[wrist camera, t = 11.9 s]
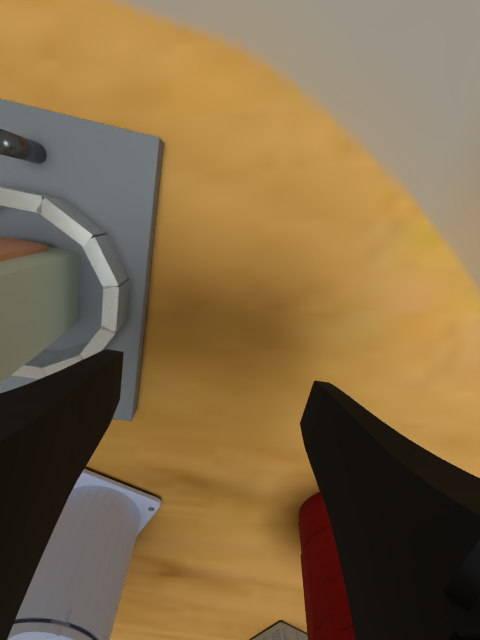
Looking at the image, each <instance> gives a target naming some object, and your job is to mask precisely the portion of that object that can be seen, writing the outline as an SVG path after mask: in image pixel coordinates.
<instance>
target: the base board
mask: <svg viewBox="0 0 480 640" xmlns="http://www.w3.org/2000/svg"><path fill="white" fill-rule="evenodd" d="M0 129H3V130H6V131H8V132H11V133H14V134H16V135H19V136H22V137H24V138H27V139H30V140H32V141H35V142H38V143H40V144H41V145H42V146H43V147H44V148H45V150H46V153H47V157H46V160H45V161H44V162H43V163H41V164H36V163H32V162H28V161H24V160H20V159H16V158H13V157H9V156H5V155H1V154H0V186H7V187H13V188H18V189H23V190H28V191H33V192H37V193H42V194H47V195H52V196H56V197H61V198H63V199H66V200H67V201H69V202H70V203H71V204H72V205H74V206H75V207H76V208H77V209H79V210H80V211H81V212H82V213H84V214H85V215H86V216H87V217H89V218H90V219H91V220H93V221H94V222H95V223H96V224H98V225H99V226H100V227H101V228H103V229H104V230H105V231H106V232H107V233H106V235H108V234H109V235H110V238H111V240H112V242H113V244H114V246H115V248H116V250H117V252H118V254H119V256H120V258H121V261H122V263H123V265H124V267H125V269H126V271H127V273H128V275H129V278H128V279H130V284H129V296H128V309H127V320H126V322H125V323H124V324H123V326H122V327H121V328H120V329H119V331H118V332H117V333H116V334H115V336H114V337H113V338H112V339H111V340H110V342H109V343H108V344H107V345H106V347H105V348H104V349H103V350H105V349H109V350H116V351H122V352H124V355H123V368H122V381H121V393H120V401H119V403H118V406H117V408H116V411H115V413H114V416H113V418H112V419H119V420H127V421H132V419H133V417H134V414H135V412H136V407H137V397H138V387H139V378H140V368H141V358H142V349H143V339H144V329H145V319H146V310H147V300H148V290H149V281H150V271H151V261H152V251H153V242H154V232H155V222H156V213H157V203H158V193H159V183H160V174H161V164H162V154H163V145H164V142H163V141H162V140H161V139H160V138H159V137H155V136H151V135H146V134H142V133H138V132H134V131H130V130H126V129H122V128H118V127H113V126H109V125H105V124H101V123H97V122H93V121H89V120H85V119H81V118H76V117H72V116H68V115H64V114H60V113H56V112H52V111H48V110H43V109H39V108H35V107H31V106H27V105H23V104H19V103H15V102H10V101H6V100H2V99H0ZM0 237H10V238H15V239H21V240H26V241H31V242H36V243H41V244H46V245H48V247H53V248H58V249H64V250H69V251H74V252H79V253H80V263H79V295H78V323H77V324H76V325H75V326H73V327H72V328H71V329H69V330H68V331H67V332H66V333H64V334H63V335H62V336H60V337H59V338H58V339H57V340H55V341H54V342H53V343H52V344H50V345H49V346H48V347H46V348H45V349H44V350H48V351H55V352H63V351H66V350H68V349H71V348H74V347H77V346H80V345H83V344H86V343H89V342H90V341H91V340H92V338H93V337H94V336H95V334H96V333H97V332H98V331H99V329H100V328H101V323H102V302H103V286H102V284H101V282H100V280H99V278H98V276H97V274H96V272H95V271H94V269H93V267H92V265H91V263H90V261H89V259H88V257H87V255H86V253H85V251H84V249H83V247H82V245H80V244H79V243H78V242H76V241H75V240H74V239H72V238H71V237H70V236H68V235H67V234H66V233H65V232H63V231H62V230H61V229H59V228H58V227H57V226H55V225H54V224H53V223H51V222H50V221H49V220H47V219H46V218H45V217H43V216H42V215H41V214H39V213H36V212H31V211H26V210H21V209H16V208H11V207H4V208H2V209H0ZM103 350H102V351H103ZM36 380H38V379H34V378H27V377H19V376H12V375H10V376H9V377H8V378H7V379H5V380H4V381H3V382H2V383H0V393H3V392H6V391H9V390H12V389H15V388H18V387H21V386H23V385H26V384H29V383H31V382H34V381H36Z"/></svg>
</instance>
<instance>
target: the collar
mask: <svg viewBox="0 0 480 640" xmlns="http://www.w3.org/2000/svg"><path fill="white" fill-rule="evenodd" d="M0 154H1V155H5V156H9V157H13V158H16V159H20V160H24V161H28V162H32V163H36V164H41V163H43V162H44V161H45V160H46V157H47V153H46V150H45V148H44V147H43V146H42V145H41V144H40V143H38V142H35V141H32V140H30V139H27V138H24V137H22V136H19V135H16V134H14V133H11V132H8V131H6V130H3V129H0ZM4 207H11V208H16V209H21V210H26V211H31V212H36V213H39V214H41V215H42V216H43V217H45V218H46V219H47V220H49V221H50V222H51V223H53V224H54V225H55V226H57V227H58V228H59V229H61V230H62V231H63V232H65V233H66V234H67V235H68V236H70V237H71V238H72V239H74V240H75V241H76V242H78V243H79V244H80V245H82V247H83V249H84V251H85V253H86V255H87V257H88V259H89V261H90V263H91V265H92V267H93V269H94V271H95V272H96V274H97V276H98V278H99V280H100V282H101V284H102V286H103V302H102V323H101V328H100V329H99V331H98V332H97V333H96V334H95V336H94V337H93V338H92V340H91V341H90V342H89V343H86V344H83V345H80V346H77V347H74V348H71V349H68V350H66V351H63V352H55V351H48V350H43V351H41V352H40V353H39V354H37V355H36V356H35V357H34V358H32V359H31V360H30V361H28V362H27V363H26V364H25V365H23V366H22V367H21V368H19V369H18V370H17V371H16V372H14V373H13V374H12V376H19V377H27V378H34V379H41V378H43V377H46V376H48V375H50V374H53V373H55V372H57V371H60V370H62V369H64V368H66V367H68V366H71V365H73V364H75V363H77V362H79V361H81V360H83V359H85V358H87V357H89V356H92V355H94V354H96V353H98V352H100V351H102V350H103V349H104V348H105V347H106V345H107V344H108V343H109V342H110V340H111V339H112V338H113V337H114V336H115V334H116V333H117V332H118V331H119V329H120V328H121V327H122V326H123V324H124V323H125V322H126V320H127V309H128V296H129V284H130V279H128V278H129V275H128V273H127V271H126V269H125V267H124V265H123V263H122V261H121V258H120V256H119V254H118V252H117V250H116V248H115V246H114V244H113V242H112V240H111V238H110V235H109V234H108V235H106V233H107V232H106V231H105V230H104V229H103V228H101V227H100V226H99V225H98V224H96V223H95V222H94V221H93V220H91V219H90V218H89V217H87V216H86V215H85V214H84V213H82V212H81V211H80V210H79V209H77V208H76V207H75V206H74V205H72V204H71V203H70V202H69V201H67V200H66V199H63V198H61V197H56V196H52V195H47V194H42V193H37V192H33V191H28V190H23V189H18V188H13V187H7V186H0V209H2V208H4Z"/></svg>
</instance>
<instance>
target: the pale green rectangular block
mask: <svg viewBox="0 0 480 640" xmlns="http://www.w3.org/2000/svg"><path fill="white" fill-rule="evenodd" d="M79 263H80V253H79V252H74V251H69V250H64V249H58V248H53V247H48V245H46V244H41V243H36V242H31V241H26V240H21V239H15V238H10V237H0V383H2V382H3V381H4V380H5V379H7V378H8V377H9V376H10V375H12V374H13V373H14V372H16V371H17V370H18V369H19V368H21V367H22V366H23V365H25V364H26V363H27V362H28V361H30V360H31V359H32V358H34V357H35V356H36V355H37V354H39V353H40V352H41V351H43V350H44V349H45V348H46V347H48V346H49V345H50V344H52V343H53V342H54V341H55V340H57V339H58V338H59V337H60V336H62V335H63V334H64V333H66V332H67V331H68V330H69V329H71V328H72V327H73V326H75V325H76V324H77V323H78V295H79Z"/></svg>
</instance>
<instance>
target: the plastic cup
mask: <svg viewBox="0 0 480 640" xmlns="http://www.w3.org/2000/svg"><path fill="white" fill-rule="evenodd" d="M299 519H300V520H299V531H300V542H301V552H302V553H301V566H302V577H303V588H304V599H305V611H306V622H307V633H308V640H355V636H354V630H353V625H352V620H351V614H350V609H349V604H348V599H347V594H346V589H345V584H344V579H343V575H342V570H341V566H340V561H339V557H338V552H337V548H336V544H335V540H334V536H333V532H332V528H331V524H330V520H329V516H328V513H327V510H326V507H325V504H324V501H323V498H322V495H321V493H318V494H316V495H314V496H313V497H311V498H309V499H308V500H307V501H306V502H305V504H304V505H303V506H302V507H301V511H300V514H299Z"/></svg>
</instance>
